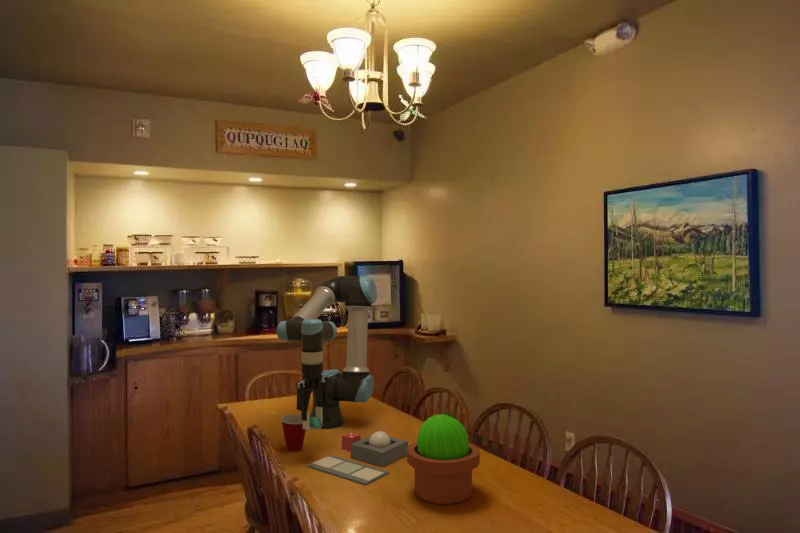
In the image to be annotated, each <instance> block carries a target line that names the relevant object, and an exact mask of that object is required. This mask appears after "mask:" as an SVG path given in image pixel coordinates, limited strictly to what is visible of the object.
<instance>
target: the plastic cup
mask: <svg viewBox="0 0 800 533" xmlns="http://www.w3.org/2000/svg"><path fill="white" fill-rule="evenodd" d="M280 421H281V425H282V426H281V427H282V430H283V435H284V441H285V445H286V450H287V451H288V452H298V451H301V450H302V449H303V446H304V440H305V435H306V431H307V430H306V429H303V420H302V418H301V414H295V413H294V414H286V415H283V416H281V417H280Z"/></svg>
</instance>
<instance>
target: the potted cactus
mask: <svg viewBox="0 0 800 533" xmlns="http://www.w3.org/2000/svg"><path fill="white" fill-rule="evenodd" d="M440 413H441V414H439V413H437V414H436V415H435V413H433V415H431V416H429V417H428V418H427V420H426V419H425V421H424V422H423V421H422V424H421V426H420V428H419V430H418V432H416V433H417V435H416V436H417V438H416V441H415V442H412V443H410V444H408V447H407V455H406V463H407V464H408V465H409V466H410V467H411V468H412V469H414V492H415V494H416V496H418V498H420V499H421V500H423V501H425V502H428V503H431V504H436V505H451V504H452V505H453V504H457V503H461V502H464V501H466V500H468V499H469V498H471V496H472V495H473V494H472V493H473V470H475V469H476V468H478V467H479V466H480V463H481V462H480V461H481V453H480V451H481V450H480V449H479V447H477V446H476V445H475V444H474V443H472V442H470V440H469V439H470V435H468V432H467V429H466V428H465V427H464V424H462V423H461V422H460V420H458V419H459V418H457V417H455V416H453V415H452V414H450V413H447V412H445V411H444V412H443V411H441V412H440Z"/></svg>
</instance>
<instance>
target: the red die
mask: <svg viewBox="0 0 800 533" xmlns="http://www.w3.org/2000/svg"><path fill="white" fill-rule="evenodd" d="M359 440H362V438H361V434H359V433H356V432H355V433H354V432H349V433H346V434H344V435H341V449H342V450H345V451H349V452H351V444H352V443H355V442H357V441H359Z"/></svg>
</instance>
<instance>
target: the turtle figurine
mask: <svg viewBox="0 0 800 533" xmlns="http://www.w3.org/2000/svg"><path fill="white" fill-rule="evenodd" d="M309 418H310V417H309ZM309 425H310V430H316V431H318V430H321V429H322V427H321V426H322V425H323V423H322V422H320V420H319V418H317V417H311V418H310V419H309Z"/></svg>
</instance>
